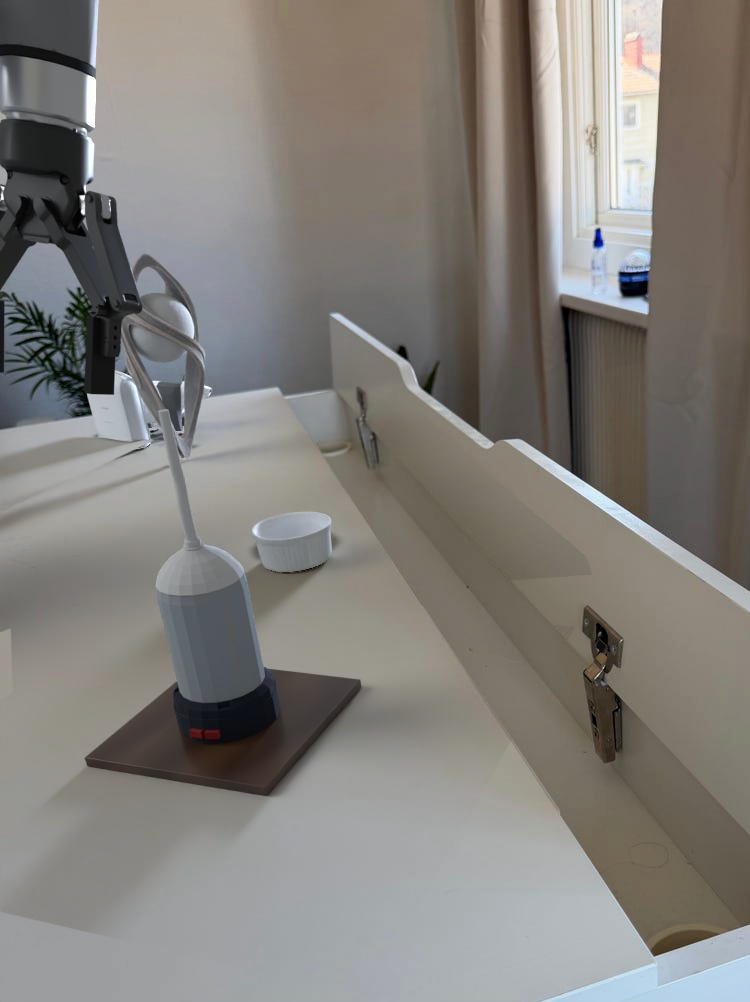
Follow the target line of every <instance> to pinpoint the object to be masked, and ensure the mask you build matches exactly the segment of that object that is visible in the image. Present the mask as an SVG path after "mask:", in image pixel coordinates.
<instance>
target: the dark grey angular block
mask: <svg viewBox="0 0 750 1002" xmlns="http://www.w3.org/2000/svg"><path fill="white" fill-rule="evenodd" d="M184 377H185V374H184V375H183V376H182V378H181V379H182V381H176V382H175V381H162V380H152V382H153V384H154V386H155V387H156V389H157V391H158V393H159V395H160V397H161V399H162V401H163V403H164V406H165V408H166V409H168V410H169V414H170V419H171V422H172V424H173V427H174V429H175V431H182V430H183V426H185V417H184ZM212 392H213V387H210V386H208V385H205V386H204V392H203V398H202V400H204V399H207V398H209V397H211V393H212ZM141 400H142V398H141ZM142 404H143V408H144V413H145V417H146V421H147V425H148V428H152V427H154V426H155V425H154V424H157V422H156V421H155V419H154V418H153V416H152V415H151V413H150V412H149V410H148V409H147V407H146V405H145V404H144V402H143V400H142Z"/></svg>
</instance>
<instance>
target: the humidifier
mask: <svg viewBox="0 0 750 1002" xmlns="http://www.w3.org/2000/svg"><path fill="white" fill-rule="evenodd" d="M158 413H159V418H160V423H161V428H162V429H161V428H160V429H161V433H162V436H163V442H164V446H165V453H166V457H167V461H168V465H169V470H170V474H171V477H172V482H173V487H174V493H175V500H176V505H177V510H178V515H179V519H180V523H181V527H182V532H183V535H184V539H183V545H182V547H181V548H180V549H179V550H177V551H176V552H175V553H173V554H172V555H171V556H170V557H169V558H167V560H166V561H165V562H164V563H163V564H162V566H161V567H160V569H159V571H158V573H157V575H156V576H157V577H156V581H155V588H156V599H157V603H158V608H159V612H160V616H161V621H162V624H163V628H164V633H165V637H166V641H167V646H168V649H169V653H170V658H171V662H172V666H173V670H174V675H175V678H176V682H177V683H178V685H177V687H176V688H175V690H174V693H173V700H174V710H175V714H176V718H177V722H178V726H179V730H180V731H181V733H182V734H183V735H184V736H185V737H187V738H189V739H191V740H193V741H196V742H201V743H207V744H209V743H227V742H232V741H237V740H241V739H244V738H247V737H250V736H252V735H255V734H257V733H259V732H260V731H262V730H264V729H266V728H267V727H269V726H270V725H271V724H272V723H273V722H274V721H275V720H276V719H277V717H278V715H279V713H280V704H279V699H278V693H277V688H276V683H275V680H274V679H273V675H272V673H271V672H270V671H269V670H268V669H269V668H267V667H266V666H264V662H263V657H262V651H261V646H260V641H259V636H258V630H257V626H256V621H255V620H256V619H255V616H254V615H255V614H254V610H253V605H252V599H251V594H250V588H249V585H248V579H247V575H246V574H245V570H244V567H243V566H242V564H241V563H240V562H239V560H238V559H237V558H235V557H234V556H233V555H231V554H230V553H229V552H228V551H226V550H223V549H222V548H219V547H218V546H217V547H216V546H213V545H209V544H205V543H204V542H203V541H202V540H201V537H199V536H198V532H197V528H196V524H195V520H194V517H193V513H192V507H191V503H190V498H189V493H188V492H189V491H188V486H187V481H186V477H185V473H184V470H183V466H182V462H181V456H180V455H179V453H178V449H177V445H176V440H175V436H174V432H173V428H172V423H171V419H170V414H169V410H168V409H163V410H162V409H161V410H159V411H158Z"/></svg>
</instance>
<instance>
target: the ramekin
mask: <svg viewBox="0 0 750 1002" xmlns="http://www.w3.org/2000/svg"><path fill="white" fill-rule="evenodd" d="M331 529H332V519H331V517H330V516H329V515H327V514H325V513H322V512H317V511H294V512H285V513H281V514H277V515H273V516H270V517H267V518H264V519H262V520H260V521H258V522H257V523H255V524H254V525H253V526H252V528H251V530H250V533H251V535H252V539H253V540H254V541H255V544H256V548H257V552H258V555H259V559H260V562H261V565H262V566H263V567H264V568H265V569H267V570H269V571H271V570H272V571H271V572H275V571H276V573H282V572H290V573H294V572H293V571H299V572H301V571H300V570H305V569H309V568H312V569H314V568H313V567H315V566H317V567H319V566H318V565H320V564H321V565H323V564H324V563H323V562H325V561H326V560H327V561H328V560H329V559H330V558H331V556H332V553H333V552H332V550H333V549H332V536H331V535H332V533H331ZM329 557H330V558H329ZM327 561H326V562H327ZM326 562H325V563H326ZM322 563H323V564H322ZM321 565H320V566H321ZM315 568H316V567H315ZM309 570H310V569H309ZM305 571H306V570H305Z"/></svg>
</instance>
